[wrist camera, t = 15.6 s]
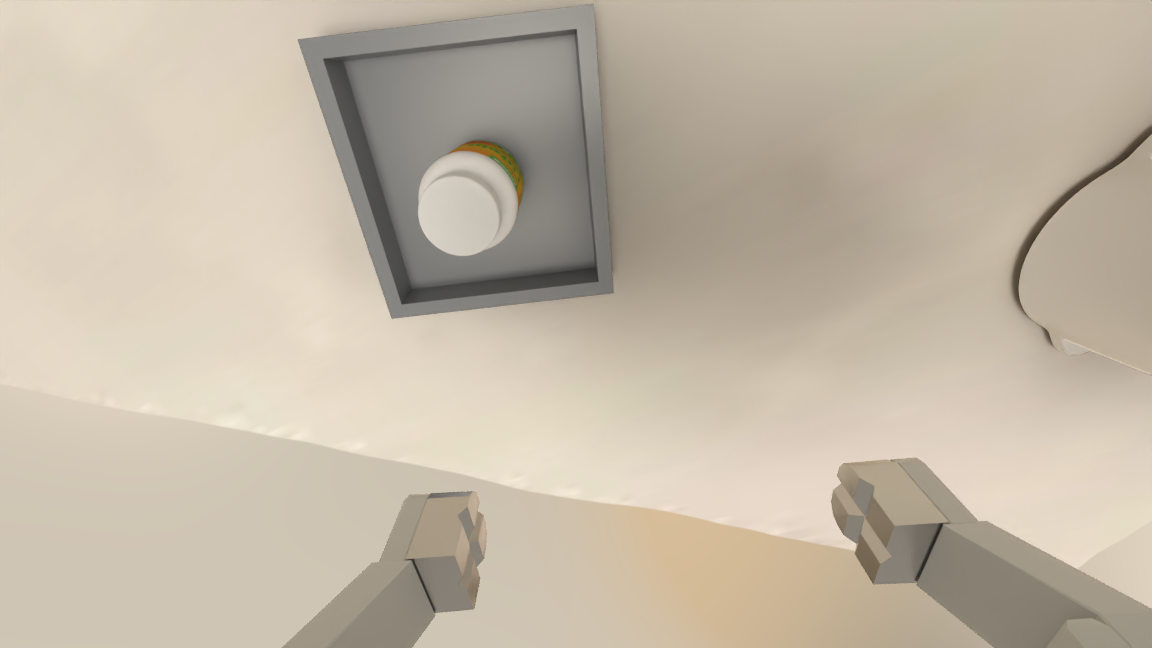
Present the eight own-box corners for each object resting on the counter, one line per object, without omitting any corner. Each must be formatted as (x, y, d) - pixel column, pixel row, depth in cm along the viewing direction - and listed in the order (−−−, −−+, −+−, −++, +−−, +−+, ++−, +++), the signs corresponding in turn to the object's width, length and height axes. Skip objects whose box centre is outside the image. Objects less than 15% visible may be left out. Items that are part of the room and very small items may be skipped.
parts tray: (588, 14, 27) (593, 4, 24) (608, 275, 35) (613, 292, 32) (326, 45, 27) (297, 39, 24) (405, 298, 35) (391, 318, 32)
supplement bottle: (538, 166, 30) (533, 197, 22) (503, 234, 32) (485, 287, 24) (464, 122, 29) (427, 136, 20) (432, 196, 31) (386, 238, 22)
